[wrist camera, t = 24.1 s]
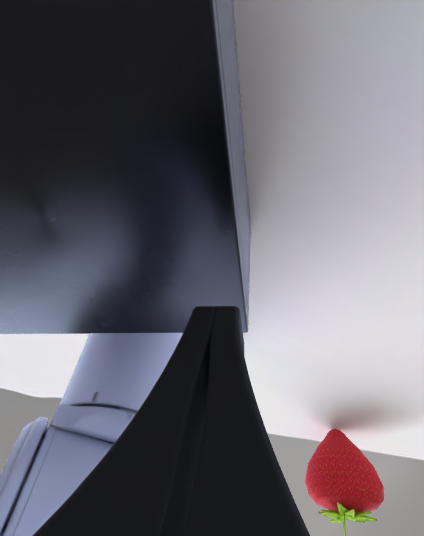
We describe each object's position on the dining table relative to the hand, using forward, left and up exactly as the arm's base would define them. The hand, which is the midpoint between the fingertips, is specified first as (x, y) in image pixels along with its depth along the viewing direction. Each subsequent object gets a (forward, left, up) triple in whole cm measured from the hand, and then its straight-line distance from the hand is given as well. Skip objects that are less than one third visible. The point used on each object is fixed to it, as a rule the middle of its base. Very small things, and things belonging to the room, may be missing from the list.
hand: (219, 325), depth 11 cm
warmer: (+3, +6, -10) cm, 12 cm away
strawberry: (-32, -8, -11) cm, 35 cm away
